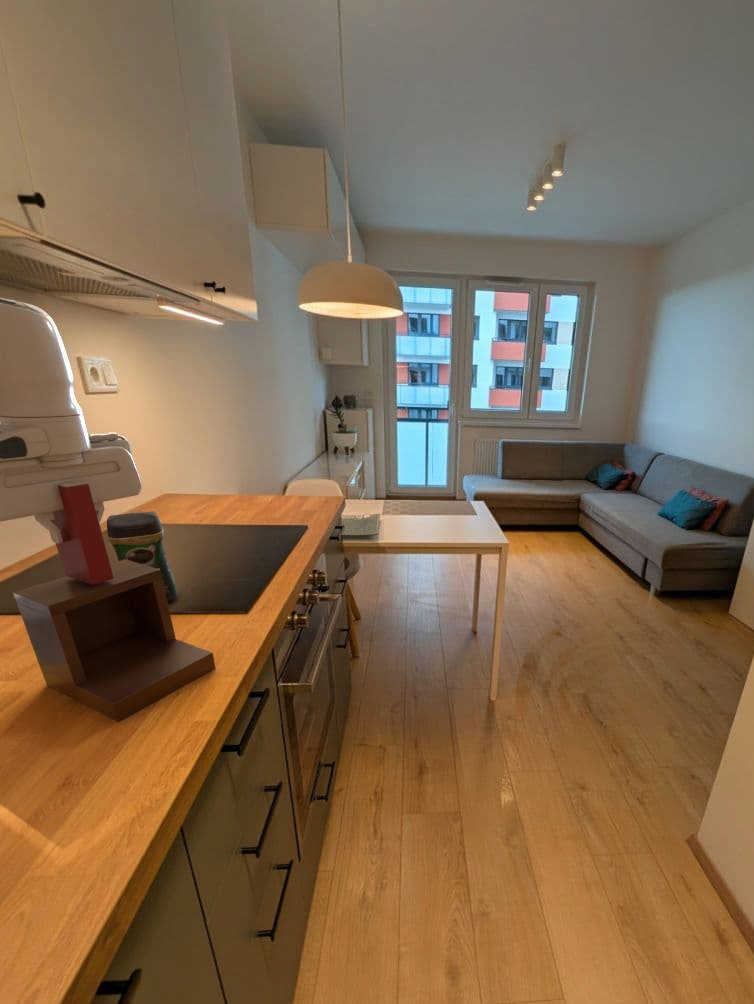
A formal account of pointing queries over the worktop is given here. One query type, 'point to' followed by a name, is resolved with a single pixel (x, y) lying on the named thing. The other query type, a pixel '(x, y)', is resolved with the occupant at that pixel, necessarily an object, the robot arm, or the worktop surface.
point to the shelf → (110, 640)
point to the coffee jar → (142, 544)
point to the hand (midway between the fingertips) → (77, 537)
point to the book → (81, 536)
